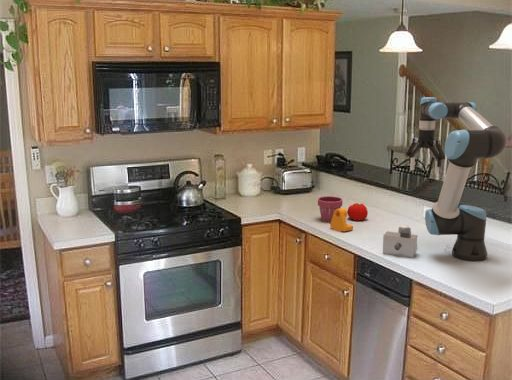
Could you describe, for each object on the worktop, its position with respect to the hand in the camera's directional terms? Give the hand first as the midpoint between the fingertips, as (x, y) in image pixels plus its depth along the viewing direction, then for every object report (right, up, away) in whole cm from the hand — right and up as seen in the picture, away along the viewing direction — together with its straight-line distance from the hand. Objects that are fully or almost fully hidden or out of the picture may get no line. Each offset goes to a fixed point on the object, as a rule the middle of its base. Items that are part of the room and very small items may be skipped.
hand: (424, 171), depth 265 cm
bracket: (-37, -31, +24) cm, 54 cm away
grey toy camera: (-15, -38, -12) cm, 43 cm away
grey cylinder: (-13, -37, -8) cm, 40 cm away
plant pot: (-41, -27, +43) cm, 65 cm away
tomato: (-25, -27, +44) cm, 57 cm away
